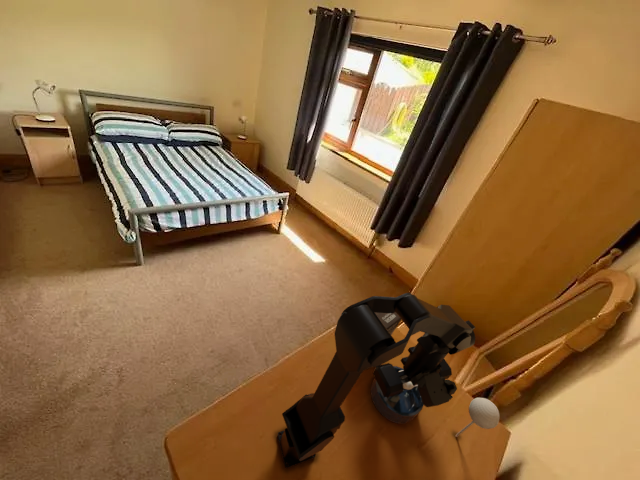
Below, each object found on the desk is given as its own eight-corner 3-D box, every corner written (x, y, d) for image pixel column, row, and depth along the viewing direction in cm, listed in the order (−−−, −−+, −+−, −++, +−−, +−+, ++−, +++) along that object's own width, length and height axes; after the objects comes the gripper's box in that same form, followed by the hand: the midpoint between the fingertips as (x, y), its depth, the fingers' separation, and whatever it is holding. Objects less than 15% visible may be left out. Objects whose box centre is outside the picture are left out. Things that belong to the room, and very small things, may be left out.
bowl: (385, 431, 70) (392, 422, 67) (361, 381, 79) (367, 371, 76) (426, 416, 75) (434, 407, 73) (399, 370, 84) (406, 361, 81)
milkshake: (399, 412, 74) (417, 391, 68) (381, 396, 76) (396, 374, 70) (407, 398, 77) (424, 377, 71) (389, 383, 79) (404, 362, 73)
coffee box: (362, 367, 82) (383, 331, 72) (345, 349, 85) (364, 312, 76) (382, 351, 87) (405, 315, 78) (366, 335, 91) (386, 298, 81)
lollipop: (470, 454, 70) (509, 426, 62) (446, 445, 71) (481, 416, 62) (465, 426, 76) (501, 397, 67) (442, 418, 76) (475, 388, 67)
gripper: (415, 403, 56) (384, 437, 65) (484, 379, 64) (448, 413, 73) (384, 349, 64) (361, 387, 73) (449, 334, 72) (421, 370, 81)
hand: (399, 390), depth 75 cm, fingers open, 9 cm apart
